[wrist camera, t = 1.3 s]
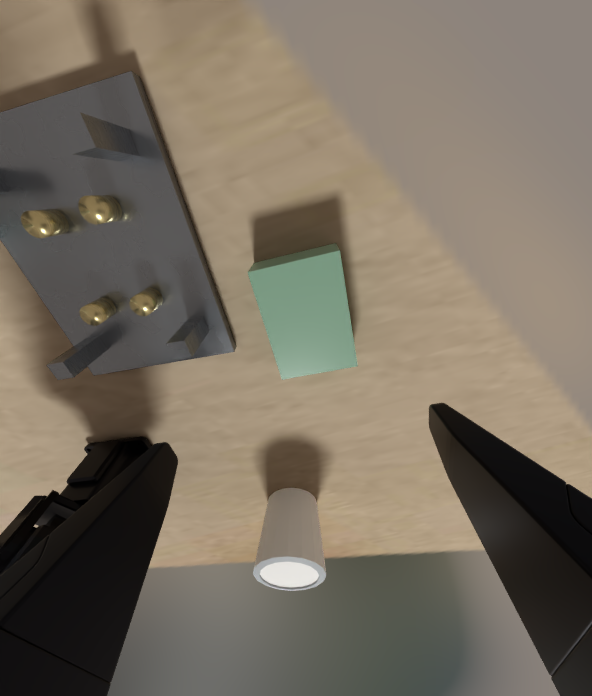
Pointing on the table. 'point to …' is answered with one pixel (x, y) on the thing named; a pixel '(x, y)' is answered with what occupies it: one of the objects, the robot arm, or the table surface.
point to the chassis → (106, 231)
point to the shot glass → (290, 542)
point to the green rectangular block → (305, 311)
